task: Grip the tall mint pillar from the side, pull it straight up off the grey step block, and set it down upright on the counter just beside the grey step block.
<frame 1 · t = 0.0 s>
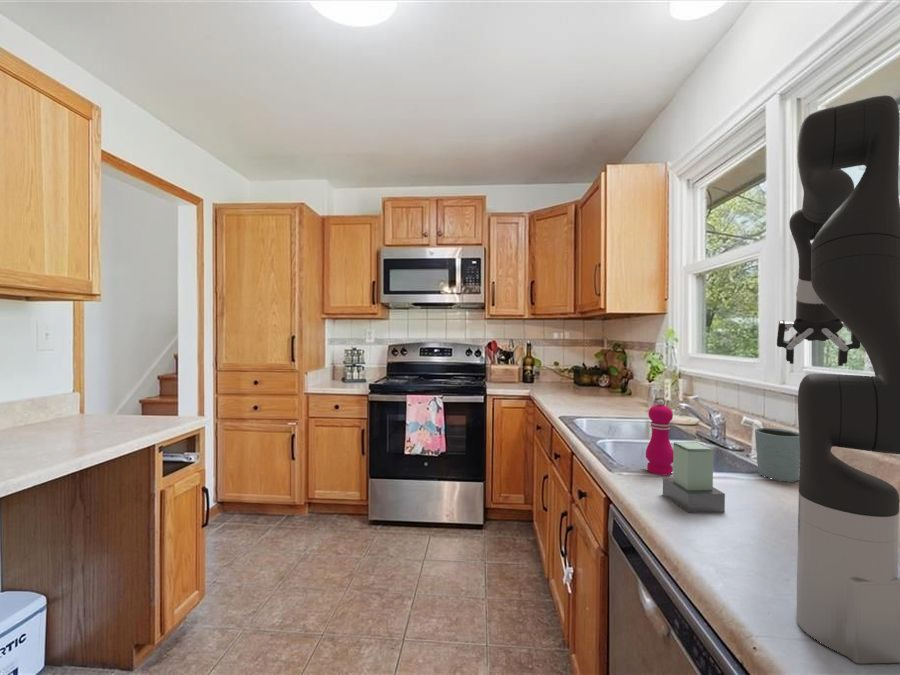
hand: (815, 363, 97), 31 cm above the worktop, tool tilted 20°, fingers open, 8 cm apart
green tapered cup: (777, 476, 112), on the worktop
pepper mill: (659, 472, 115), on the worktop
grey step block: (692, 502, 94), on the worktop
tall mint pillar: (692, 485, 94), point 4 cm above the worktop, touching grey step block
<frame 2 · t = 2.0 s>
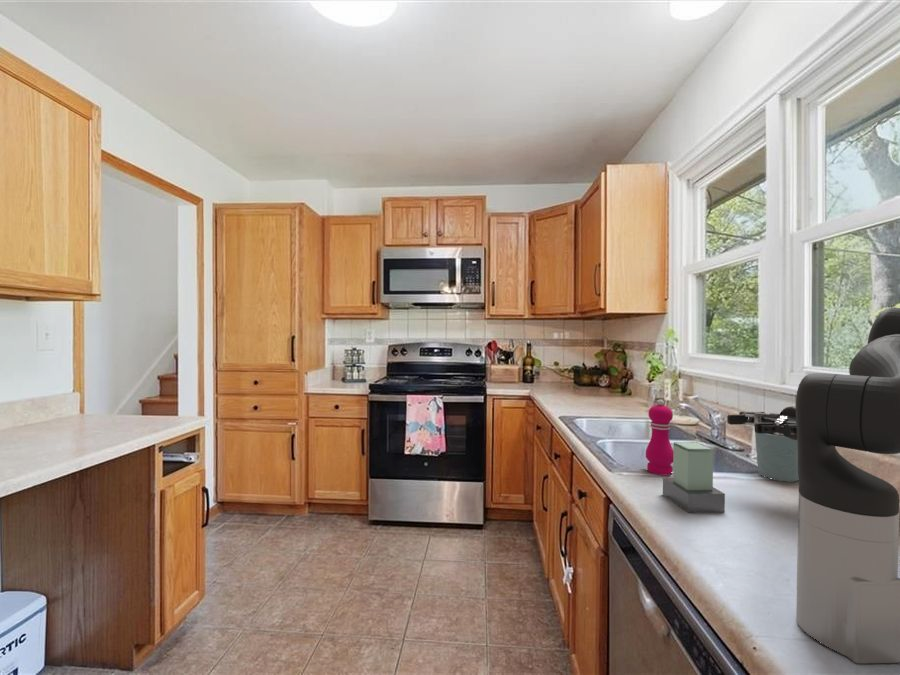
hand: (741, 423, 94), 18 cm above the worktop, tool horizontal, fingers open, 8 cm apart
nothing on the worktop moved.
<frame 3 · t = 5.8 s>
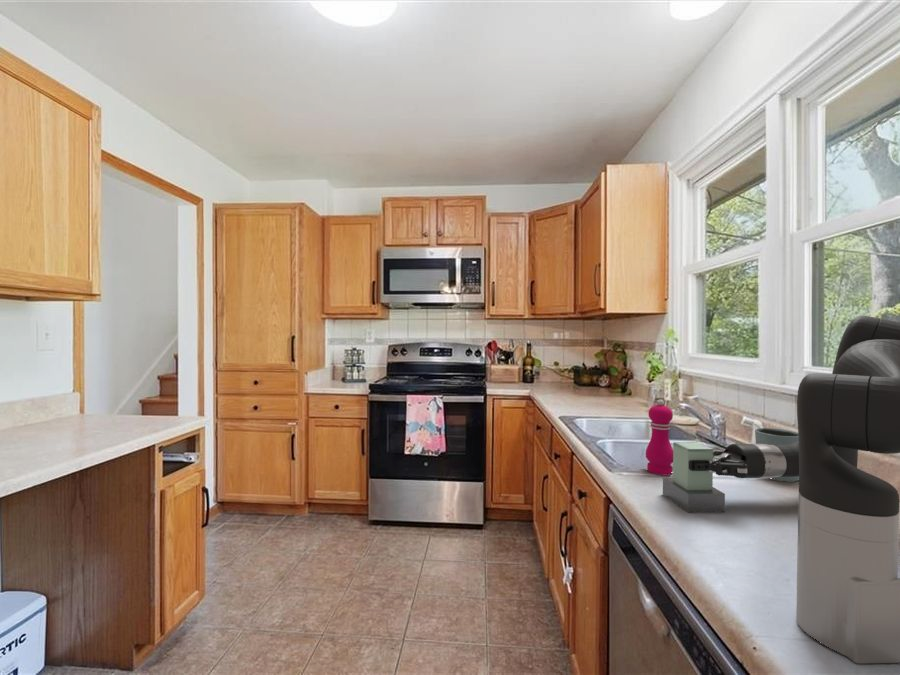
hand: (681, 461, 94), 9 cm above the worktop, tool horizontal, fingers closed on tall mint pillar, 5 cm apart
tall mint pillar: (692, 485, 94), point 4 cm above the worktop, touching gripper, grey step block
everything else where it was.
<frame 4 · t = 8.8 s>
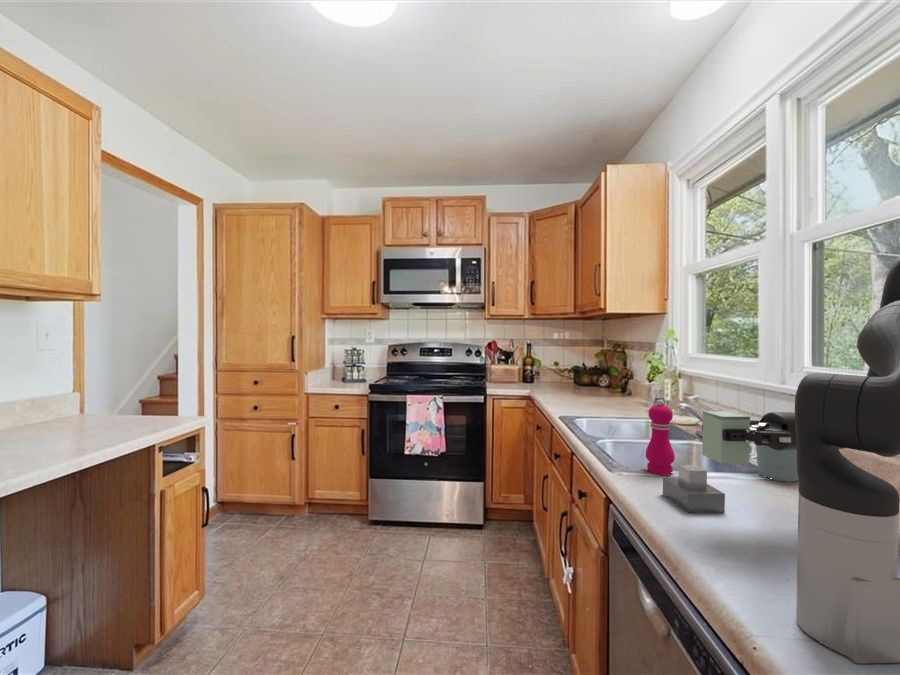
hand: (713, 431, 83), 19 cm above the worktop, tool horizontal, fingers closed on tall mint pillar, 5 cm apart
tall mint pillar: (725, 458, 83), point 13 cm above the worktop, touching gripper
everything else where it was.
when the fingers open (7 cm above the worktop, at t = 11.6 s): tall mint pillar drops 1 cm, on the worktop.
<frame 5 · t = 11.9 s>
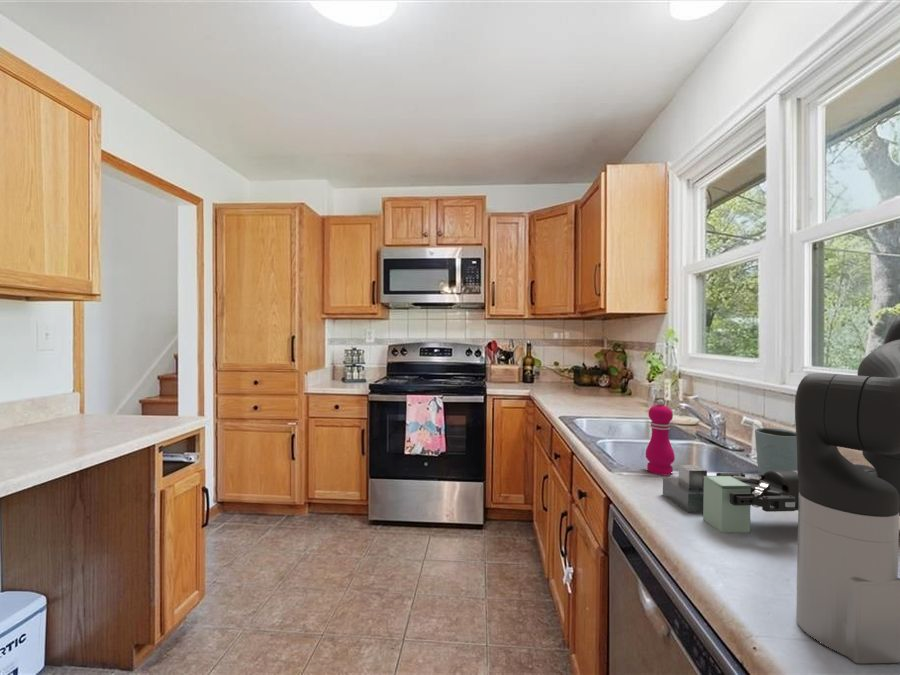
hand: (716, 490, 83), 7 cm above the worktop, tool horizontal, fingers open, 8 cm apart
tall mint pillar: (725, 525, 83), on the worktop
everything else where it was.
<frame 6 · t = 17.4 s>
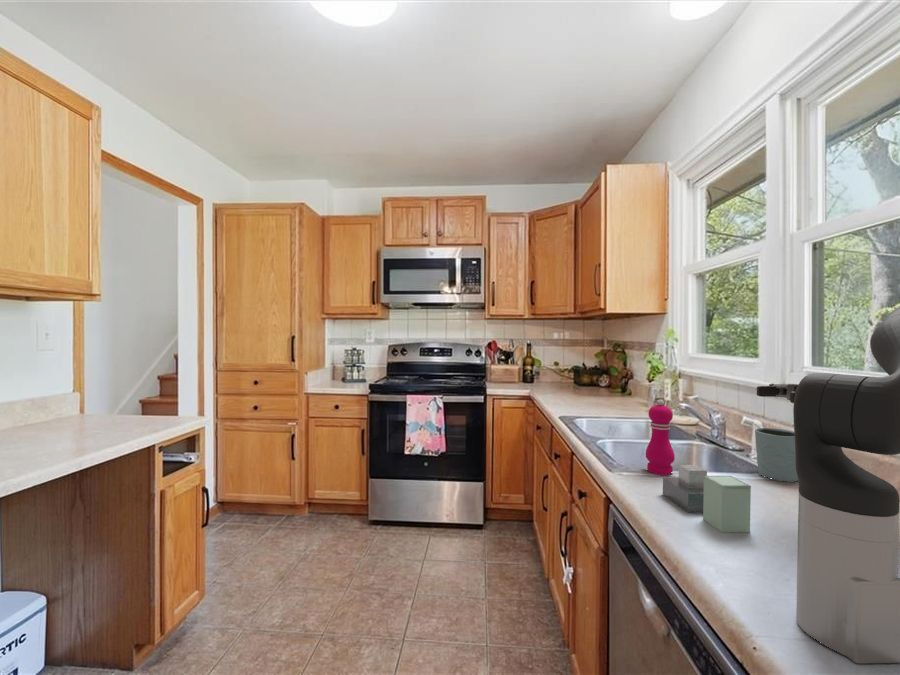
hand: (774, 394, 85), 26 cm above the worktop, tool horizontal, fingers open, 8 cm apart
nothing on the worktop moved.
at the end: tall mint pillar inside the target area (0.0 cm from its centre), on the worktop; tall mint pillar tilted 0°; the gripper is holding nothing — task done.
